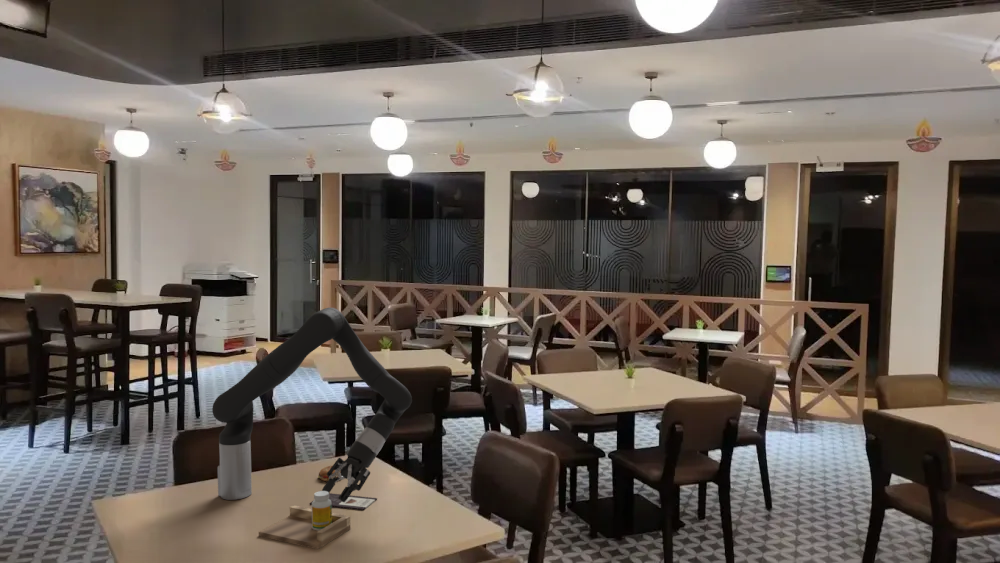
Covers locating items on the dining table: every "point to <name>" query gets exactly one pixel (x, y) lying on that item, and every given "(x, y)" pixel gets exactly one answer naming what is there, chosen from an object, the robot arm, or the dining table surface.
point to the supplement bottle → (321, 510)
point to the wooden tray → (306, 528)
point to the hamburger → (325, 473)
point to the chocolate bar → (351, 502)
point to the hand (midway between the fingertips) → (332, 496)
